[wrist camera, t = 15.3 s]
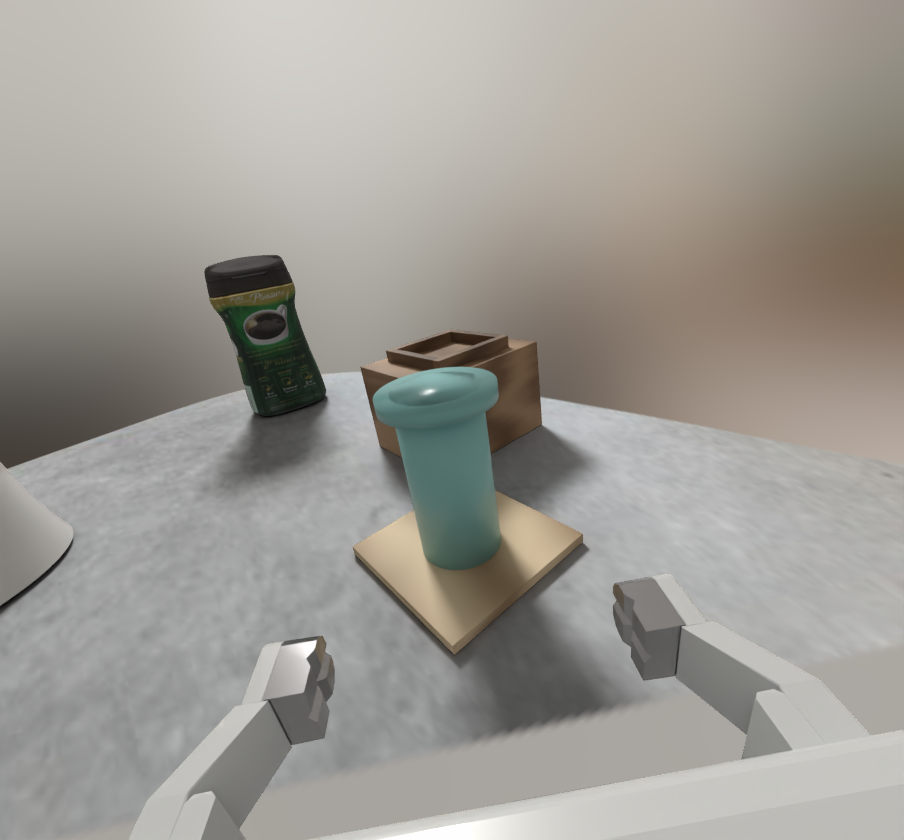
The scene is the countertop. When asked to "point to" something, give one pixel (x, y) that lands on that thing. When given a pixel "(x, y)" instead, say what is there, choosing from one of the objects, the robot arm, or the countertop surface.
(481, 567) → the cork mat
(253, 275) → the coffee jar
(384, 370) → the walnut box
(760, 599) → the countertop surface
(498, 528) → the stopper cap
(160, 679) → the countertop surface
